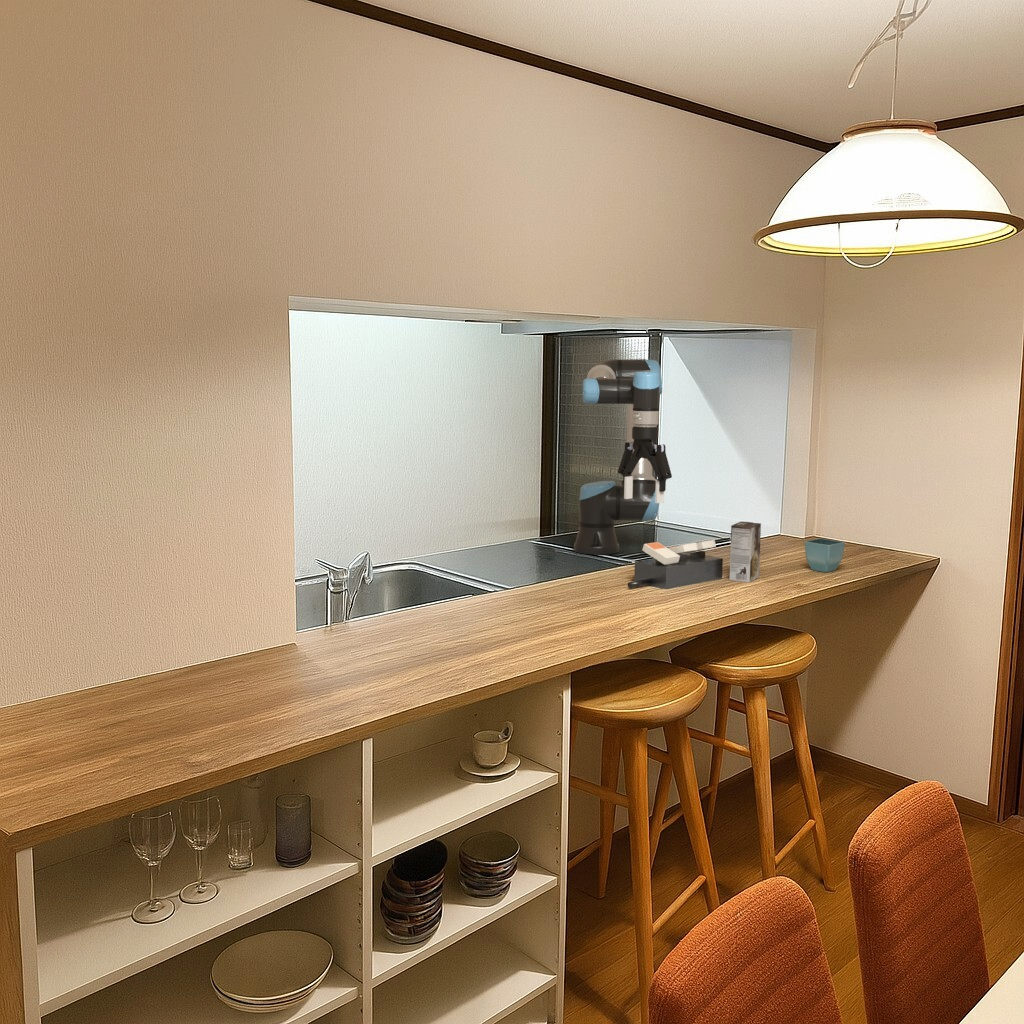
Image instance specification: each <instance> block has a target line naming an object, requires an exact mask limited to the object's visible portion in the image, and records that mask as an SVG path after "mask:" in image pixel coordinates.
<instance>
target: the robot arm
mask: <svg viewBox="0 0 1024 1024" xmlns="http://www.w3.org/2000/svg"><path fill="white" fill-rule="evenodd" d="M662 394H663V379H662V372H661V366H660V363H659V361H657V360H655V359H646V358H642V359H641V358H640V359H639V358H638V359H629V358H627V359H618V358H617V359H616V358H612V359H609V360H607V359H606V360H605V361H601V362H598V363H597V364H595V365H593V366H592V367H591V368H590V369H588V373H587V375H586V378H584V379H583V381H582V402H583V403H584V404H586V405H587V404H591V405H611V404H612V405H627V406H626V407H627V409H626V410H627V412H626V442H625V443H624V451H623V454H622V456H621V461H620V464H619V466H618V470H617V473H618V474H620V475H622V479H621V485H616V482H615V481H614V480H601V481H594V482H589V483H584V484H583V485H582V486H581V487H580V490H579V491H580V492H579V498H578V500H579V523H578V524H579V527H578V530H577V531H578V532H577V534H576V539H575V541H574V543H573V551H574V552H575V553H579V554H585V555H594V556H595V555H613V554H617V553H620V544H619V542H618V538H617V533H616V531H615V521H633V522H635V521H636V522H644V521H645V522H647V521H649V522H650V521H654V520H656V518H657V517H658V513H659V509H660V504H663V503H664V502H665V501H664V500H665V499H664V498H665V492H666V486H667V485H666V484H667V483H666V482H667V480H669V479H671V478H672V476H673V475H672V472H671V467H670V465H669V460H668V457H667V453H666V444H658V443H657V440H658V439H659V427H658V425H659V422H660V419H659V417H660V416H659V415H660V412H659V411H660V410H659V409H660V408H659V405H660V395H662ZM653 471H654V474H655V476H656V477H657V479H656V478H655V477H654V476H653Z"/></svg>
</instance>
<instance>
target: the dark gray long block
mask: <svg viewBox="0 0 1024 1024" xmlns="http://www.w3.org/2000/svg"><path fill="white" fill-rule="evenodd" d="M678 555H679V556H680V558H679V561H678V562H677V563H671V564H665V565H664V564H663V563H661V562H660V561H658V560H657V559H655V558H653V557H652V558H648V559H643V560H641V559H640V560H635V561H634V574H633V575H634V576H633V577H634V580H633V581H629V582H627V587H628V588H629V589H632V588H637V587H644V586H650V587H653V588H658V589H663V590H669V589H675V588H680V587H685V586H691V585H694V584H701V583H705V582H712V581H717V580H721V579H723V564H724V563H723V561H724V558H723V557H717V556H712V555H707V554H706V551H705V550H699V551H695V552H689V553H683V554H678Z"/></svg>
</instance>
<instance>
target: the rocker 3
mask: <svg viewBox="0 0 1024 1024" xmlns="http://www.w3.org/2000/svg"><path fill="white" fill-rule="evenodd" d="M695 543H696V544H697V549H698V550H694V551H689V552H685V553H690V552H698V551H705V550H707V549H711V548H716V546H717V545H716V540H715V539H713V540H705V541H699V542H695ZM681 554H684V553H681Z"/></svg>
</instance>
